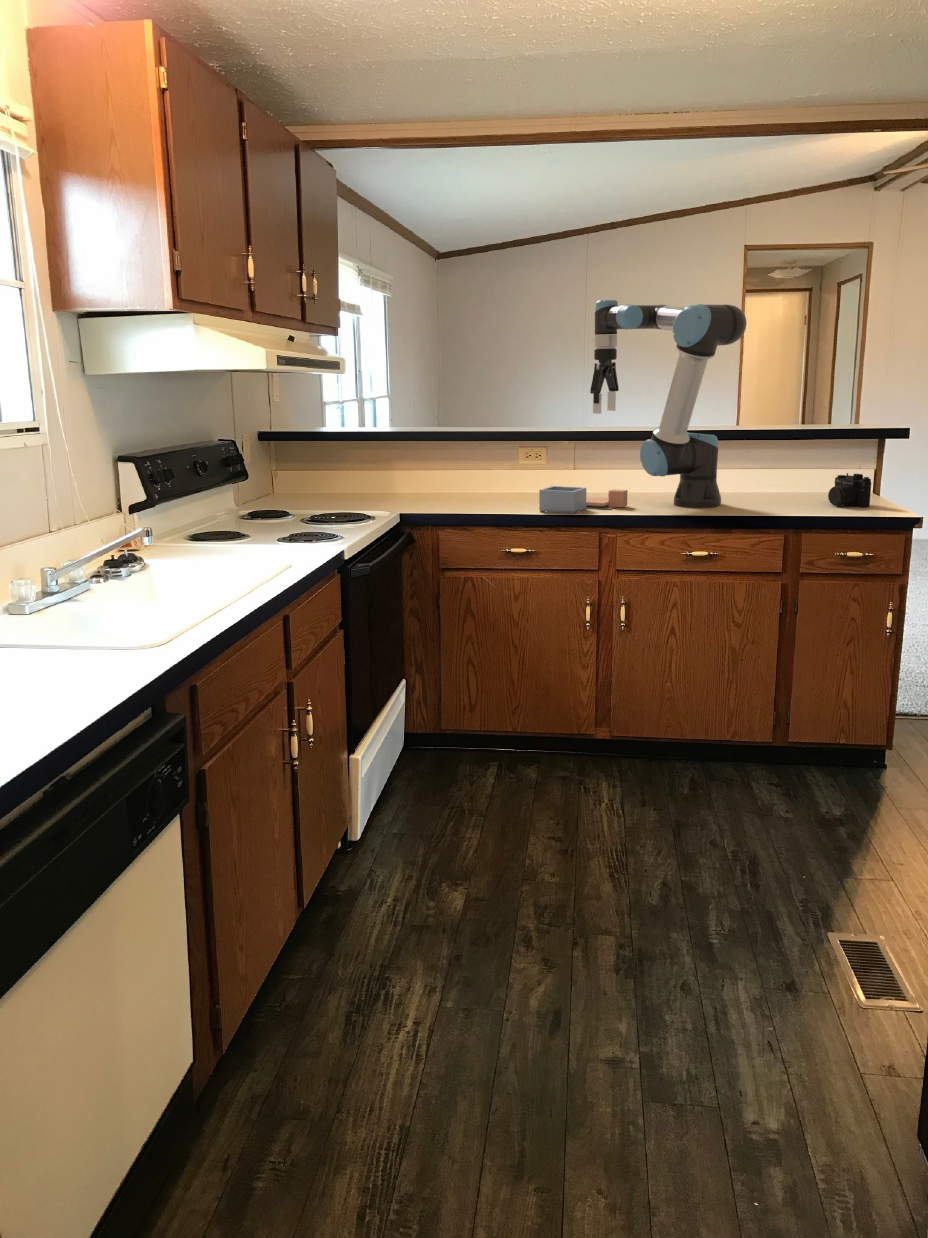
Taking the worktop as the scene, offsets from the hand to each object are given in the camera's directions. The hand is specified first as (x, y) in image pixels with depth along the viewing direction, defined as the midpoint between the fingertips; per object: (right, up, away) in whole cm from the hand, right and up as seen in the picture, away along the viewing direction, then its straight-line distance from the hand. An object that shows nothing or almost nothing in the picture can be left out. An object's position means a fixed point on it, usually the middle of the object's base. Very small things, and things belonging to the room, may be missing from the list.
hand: (604, 411), depth 340 cm
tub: (-16, -36, -21) cm, 45 cm away
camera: (+73, -35, -23) cm, 85 cm away
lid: (-4, -33, -14) cm, 36 cm away
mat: (-6, -34, -13) cm, 36 cm away
